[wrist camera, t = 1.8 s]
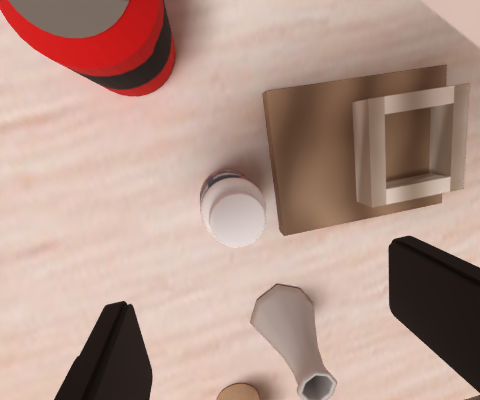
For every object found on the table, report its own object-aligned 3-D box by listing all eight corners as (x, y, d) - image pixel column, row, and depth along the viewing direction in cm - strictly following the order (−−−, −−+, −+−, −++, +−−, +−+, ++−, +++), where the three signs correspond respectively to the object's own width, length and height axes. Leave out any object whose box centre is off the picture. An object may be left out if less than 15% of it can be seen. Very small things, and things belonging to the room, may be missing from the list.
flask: (238, 323, 31) (257, 408, 21) (274, 273, 30) (310, 337, 21) (288, 347, 33) (325, 435, 23) (322, 300, 32) (376, 370, 23)
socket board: (433, 68, 28) (471, 57, 24) (430, 199, 31) (463, 208, 27) (262, 93, 26) (274, 86, 22) (279, 230, 29) (292, 245, 25)
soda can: (174, 100, 25) (155, 70, 13) (84, 92, 23) (-25, 51, 12) (176, 6, 23) (155, -124, 11) (79, -8, 22) (-55, -171, 10)
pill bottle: (257, 174, 27) (284, 192, 19) (245, 223, 28) (267, 261, 20) (205, 164, 26) (209, 177, 18) (195, 215, 27) (194, 251, 19)
